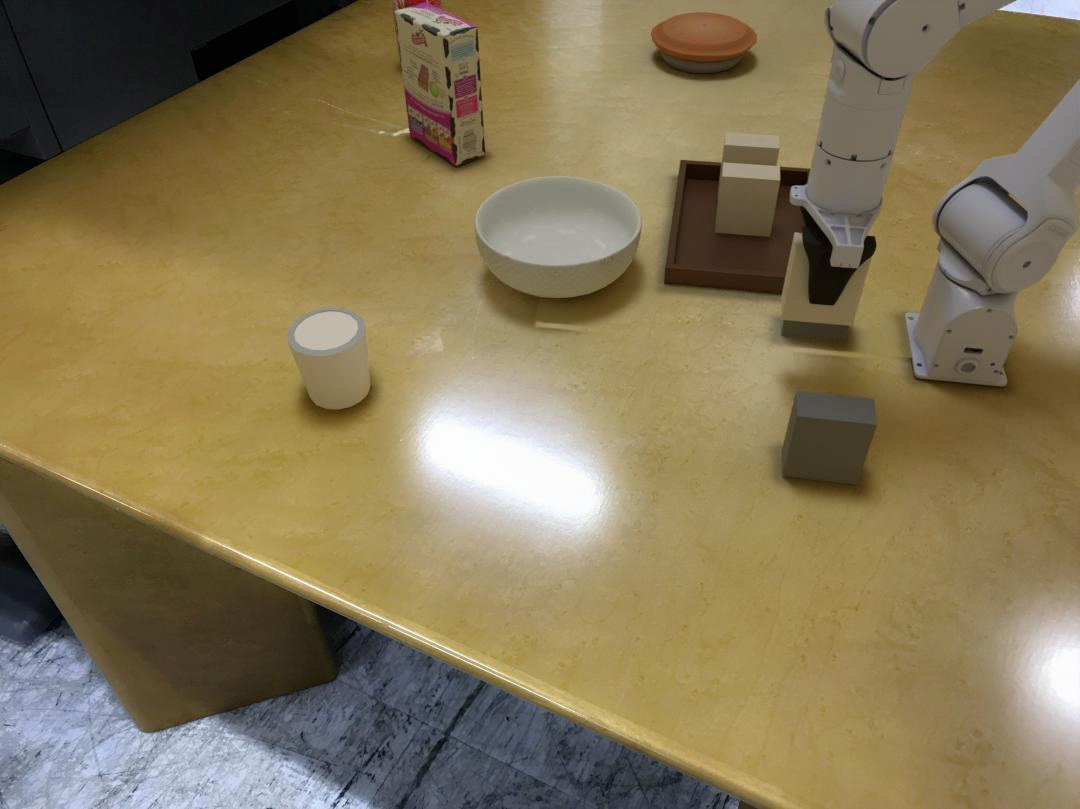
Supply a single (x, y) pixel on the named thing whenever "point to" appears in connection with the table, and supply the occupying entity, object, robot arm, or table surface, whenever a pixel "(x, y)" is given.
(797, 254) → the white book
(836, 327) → the gray rectangular block
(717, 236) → the book tray
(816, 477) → the grey book
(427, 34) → the candy bar box
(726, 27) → the pie
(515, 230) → the cereal bowl
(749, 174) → the white book
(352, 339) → the white cup
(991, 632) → the table surface
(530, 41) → the table surface
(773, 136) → the white book
